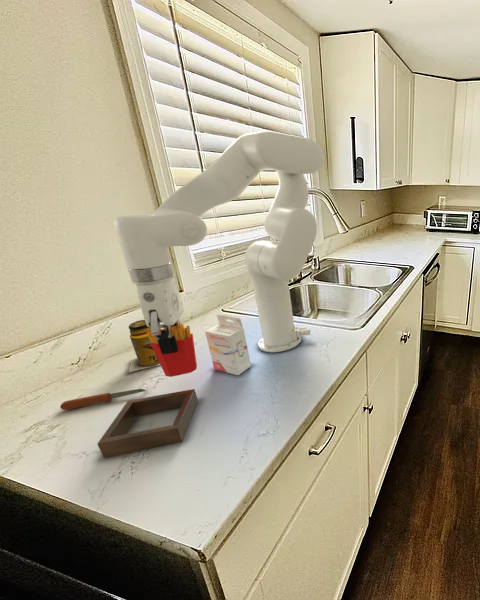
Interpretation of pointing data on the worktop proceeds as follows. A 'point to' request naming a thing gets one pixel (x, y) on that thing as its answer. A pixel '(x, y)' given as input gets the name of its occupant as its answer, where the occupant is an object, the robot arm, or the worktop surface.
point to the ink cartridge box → (228, 345)
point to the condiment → (142, 347)
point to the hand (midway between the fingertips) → (173, 346)
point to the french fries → (183, 358)
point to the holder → (123, 443)
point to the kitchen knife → (96, 399)
